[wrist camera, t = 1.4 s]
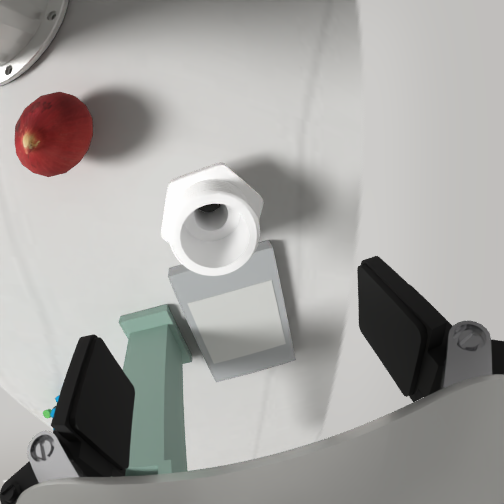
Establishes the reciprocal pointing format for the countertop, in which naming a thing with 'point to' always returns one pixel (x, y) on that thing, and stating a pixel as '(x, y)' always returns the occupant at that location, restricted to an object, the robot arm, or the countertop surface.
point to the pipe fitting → (212, 220)
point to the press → (211, 346)
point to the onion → (53, 134)
